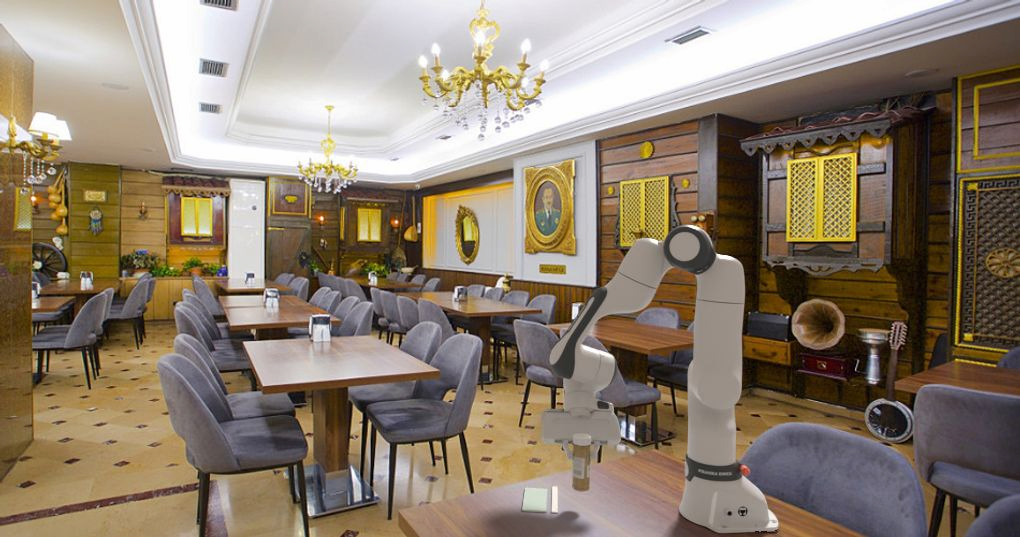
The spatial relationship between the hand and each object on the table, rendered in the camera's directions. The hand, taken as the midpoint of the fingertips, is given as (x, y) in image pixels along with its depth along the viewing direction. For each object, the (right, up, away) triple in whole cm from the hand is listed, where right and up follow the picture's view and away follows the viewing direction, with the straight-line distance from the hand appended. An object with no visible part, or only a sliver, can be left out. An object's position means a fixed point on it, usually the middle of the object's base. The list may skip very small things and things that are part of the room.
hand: (581, 459), depth 138 cm
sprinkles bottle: (0, -8, +1) cm, 8 cm away
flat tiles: (-10, -12, +5) cm, 17 cm away
